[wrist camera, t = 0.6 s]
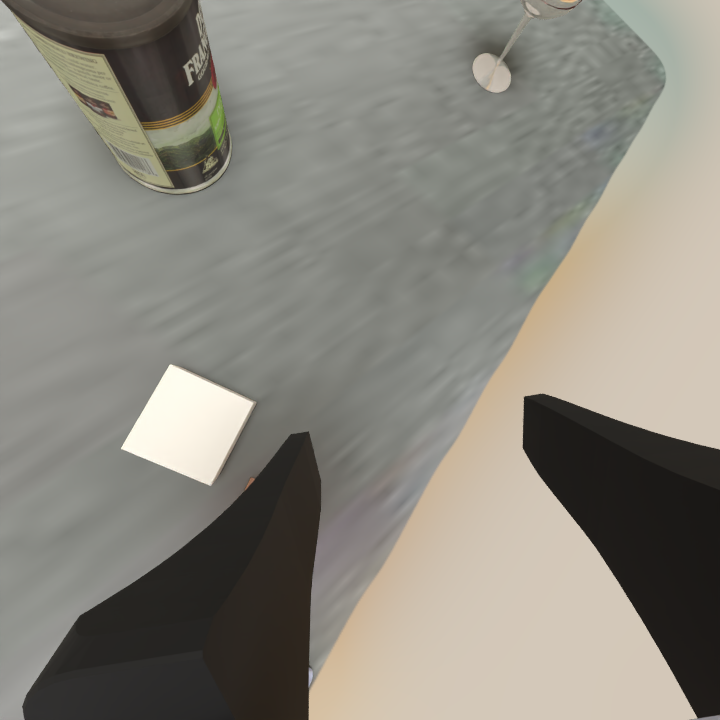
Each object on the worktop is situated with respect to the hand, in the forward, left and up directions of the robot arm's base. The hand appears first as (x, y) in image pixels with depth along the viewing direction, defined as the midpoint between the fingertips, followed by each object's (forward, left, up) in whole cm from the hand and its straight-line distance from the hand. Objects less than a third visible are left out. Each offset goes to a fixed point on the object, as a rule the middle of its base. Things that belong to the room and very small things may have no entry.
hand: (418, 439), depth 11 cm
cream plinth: (-6, +10, -21) cm, 24 cm away
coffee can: (+16, +24, -21) cm, 36 cm away
